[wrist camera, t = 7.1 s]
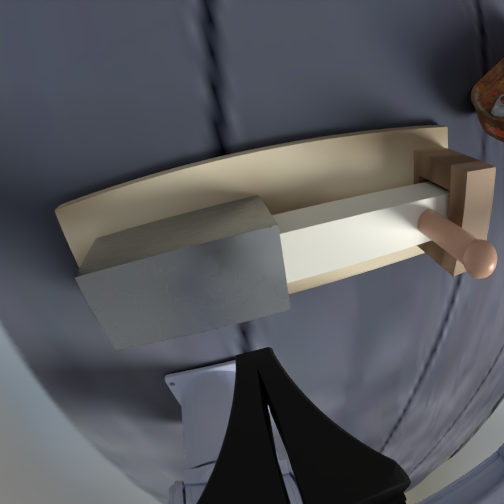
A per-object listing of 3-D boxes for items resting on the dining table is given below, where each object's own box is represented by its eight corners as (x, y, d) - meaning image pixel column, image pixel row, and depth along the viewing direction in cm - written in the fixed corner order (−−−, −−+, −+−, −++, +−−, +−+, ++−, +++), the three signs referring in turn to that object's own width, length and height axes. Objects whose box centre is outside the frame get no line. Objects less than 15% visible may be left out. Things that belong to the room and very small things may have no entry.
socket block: (438, 232, 22) (481, 264, 17) (410, 240, 22) (453, 276, 17) (443, 147, 18) (495, 167, 14) (413, 150, 18) (467, 172, 14)
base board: (433, 241, 23) (440, 247, 23) (117, 326, 21) (115, 335, 21) (438, 124, 18) (447, 126, 18) (60, 204, 16) (54, 210, 16)
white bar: (435, 218, 20) (515, 276, 13) (216, 276, 19) (236, 386, 11) (438, 179, 18) (527, 229, 11) (204, 231, 17) (217, 334, 10)
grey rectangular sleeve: (271, 267, 20) (290, 309, 16) (125, 303, 19) (115, 350, 16) (258, 194, 18) (278, 224, 14) (96, 238, 17) (74, 277, 13)
